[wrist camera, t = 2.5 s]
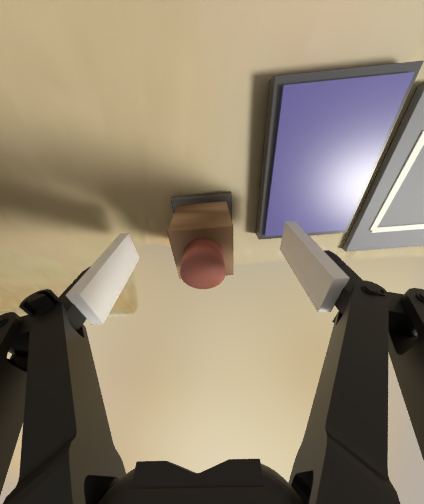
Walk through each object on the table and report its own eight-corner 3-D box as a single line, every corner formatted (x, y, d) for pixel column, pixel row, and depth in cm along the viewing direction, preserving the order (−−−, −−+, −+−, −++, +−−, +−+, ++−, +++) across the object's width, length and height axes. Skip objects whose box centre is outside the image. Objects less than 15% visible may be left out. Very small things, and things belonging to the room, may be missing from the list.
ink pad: (255, 233, 18) (259, 240, 17) (269, 80, 11) (276, 74, 10) (338, 227, 18) (348, 234, 17) (404, 66, 11) (429, 58, 10)
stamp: (183, 244, 19) (170, 302, 13) (172, 196, 16) (149, 241, 9) (231, 240, 19) (243, 297, 13) (230, 191, 16) (246, 233, 9)
